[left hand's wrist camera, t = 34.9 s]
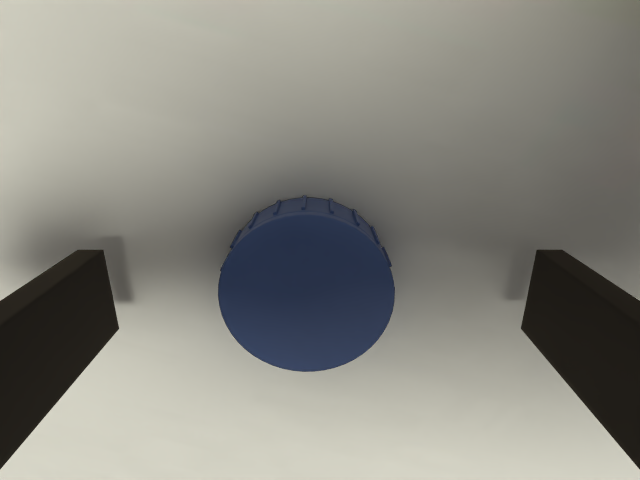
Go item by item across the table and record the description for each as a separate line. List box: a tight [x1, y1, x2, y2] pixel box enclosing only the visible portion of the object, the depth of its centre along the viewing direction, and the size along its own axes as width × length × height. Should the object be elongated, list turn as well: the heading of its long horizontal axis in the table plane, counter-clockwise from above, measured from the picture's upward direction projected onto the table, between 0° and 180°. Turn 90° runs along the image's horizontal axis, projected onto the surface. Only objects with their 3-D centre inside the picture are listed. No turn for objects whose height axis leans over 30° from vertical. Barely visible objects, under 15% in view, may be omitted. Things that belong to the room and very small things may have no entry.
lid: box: [218, 196, 395, 372], centre depth 13 cm, size 5×5×2 cm
